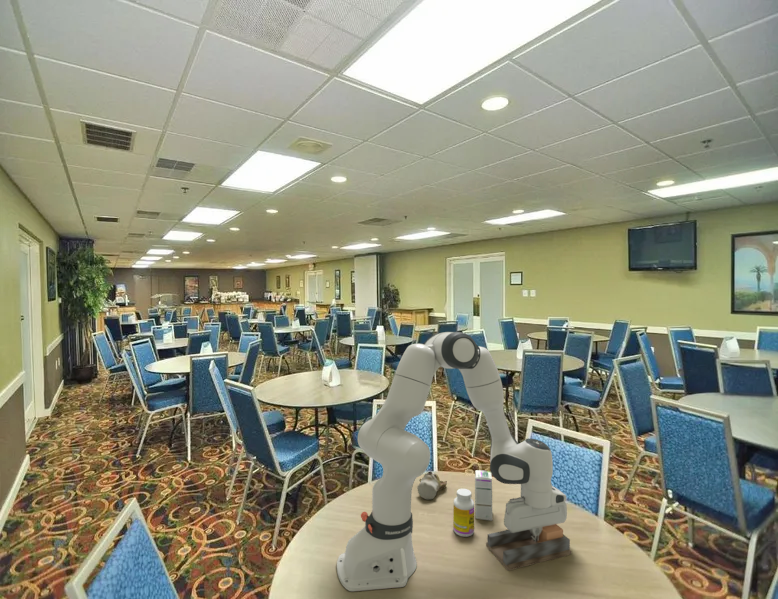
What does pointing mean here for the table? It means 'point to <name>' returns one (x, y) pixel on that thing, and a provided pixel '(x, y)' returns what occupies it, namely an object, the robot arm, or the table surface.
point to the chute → (525, 548)
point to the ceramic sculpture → (430, 485)
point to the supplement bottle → (463, 513)
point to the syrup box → (483, 495)
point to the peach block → (550, 533)
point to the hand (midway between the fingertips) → (535, 540)
